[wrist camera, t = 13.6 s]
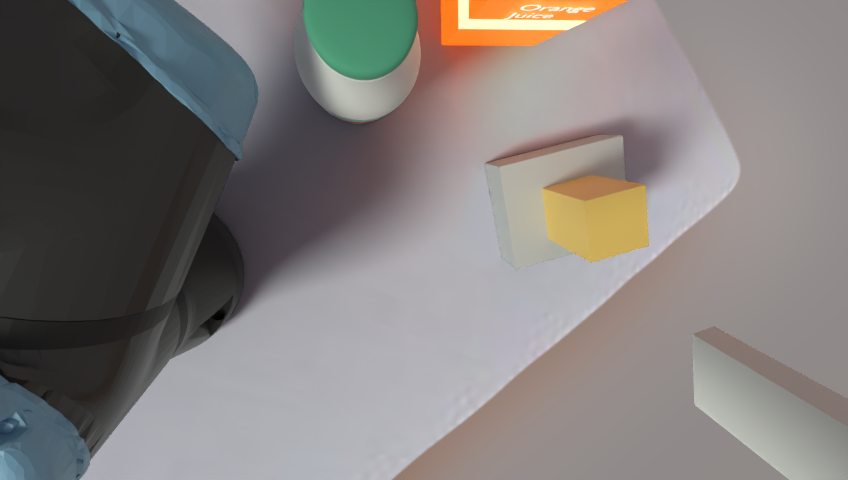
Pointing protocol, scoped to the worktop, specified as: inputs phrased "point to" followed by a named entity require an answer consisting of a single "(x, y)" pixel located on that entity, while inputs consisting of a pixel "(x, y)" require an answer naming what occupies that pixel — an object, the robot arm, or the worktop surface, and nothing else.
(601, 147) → the toggle switch box
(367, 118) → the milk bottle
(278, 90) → the worktop surface
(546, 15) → the orange juice
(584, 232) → the yellow rectangular block
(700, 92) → the worktop surface
